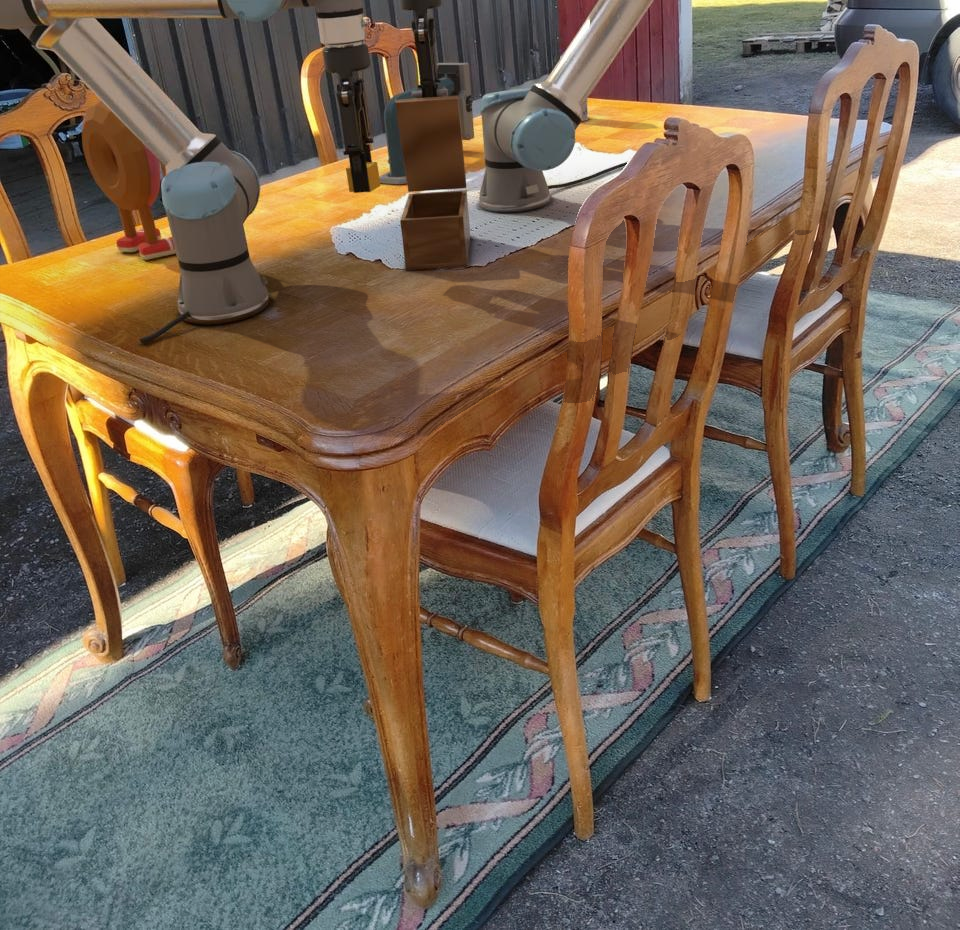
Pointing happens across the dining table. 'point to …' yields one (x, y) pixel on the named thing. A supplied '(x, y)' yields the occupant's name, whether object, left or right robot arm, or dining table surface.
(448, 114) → the lid
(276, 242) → the dining table surface
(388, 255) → the dining table surface
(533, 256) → the dining table surface
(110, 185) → the toy
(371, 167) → the block
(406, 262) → the chest
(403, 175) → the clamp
